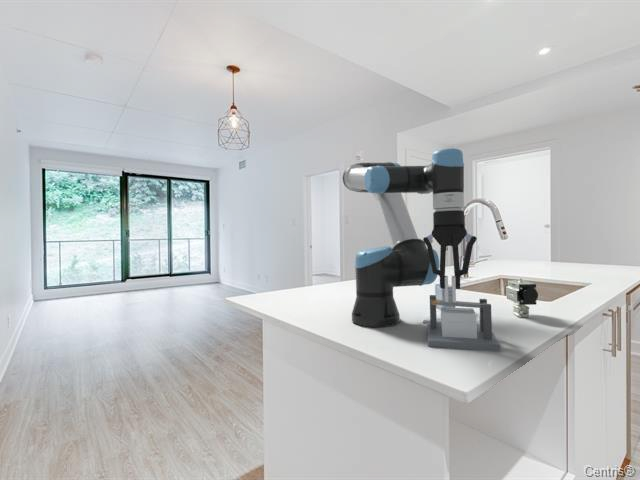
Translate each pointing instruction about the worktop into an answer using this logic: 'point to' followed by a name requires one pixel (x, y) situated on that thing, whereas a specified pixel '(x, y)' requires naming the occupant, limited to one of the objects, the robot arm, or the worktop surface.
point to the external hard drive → (438, 318)
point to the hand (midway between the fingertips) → (450, 301)
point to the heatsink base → (462, 341)
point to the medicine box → (443, 295)
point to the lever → (458, 303)
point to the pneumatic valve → (521, 296)
